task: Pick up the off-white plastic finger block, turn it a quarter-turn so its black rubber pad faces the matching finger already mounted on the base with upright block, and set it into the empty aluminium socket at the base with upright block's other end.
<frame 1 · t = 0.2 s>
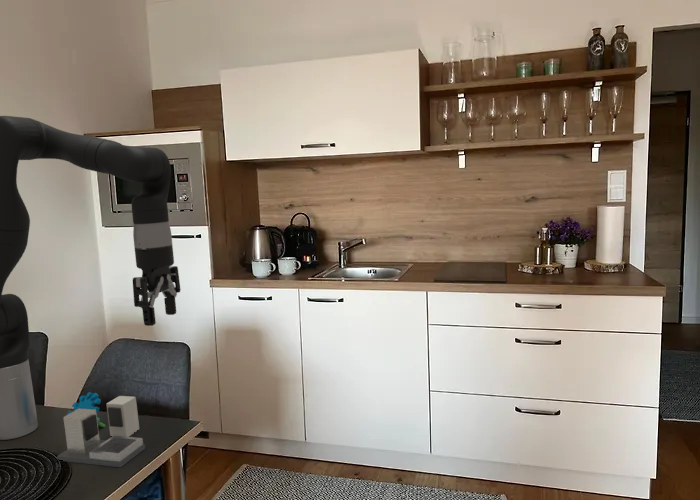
hand: (160, 319, 119), 28 cm above the table, tool pointing down, fingers open, 8 cm apart
base with upright block: (102, 454, 120), on the table
blue spiky virus toy: (86, 428, 135), on the table
finger block: (125, 432, 130), on the table
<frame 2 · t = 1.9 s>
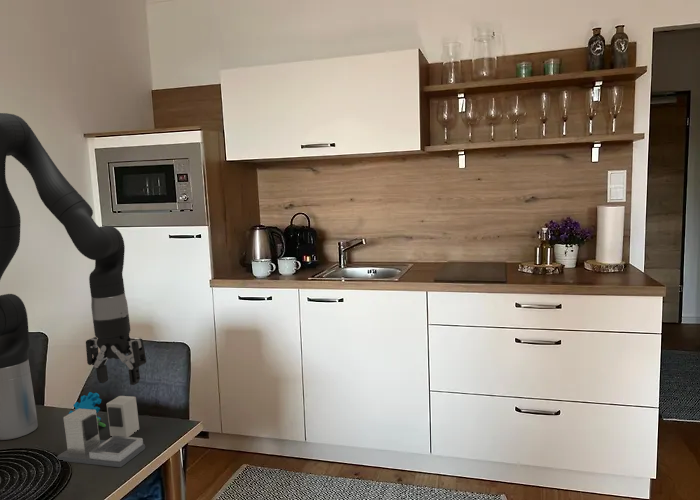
hand: (119, 382, 128), 12 cm above the table, tool pointing down, fingers open, 8 cm apart
nothing on the table moved.
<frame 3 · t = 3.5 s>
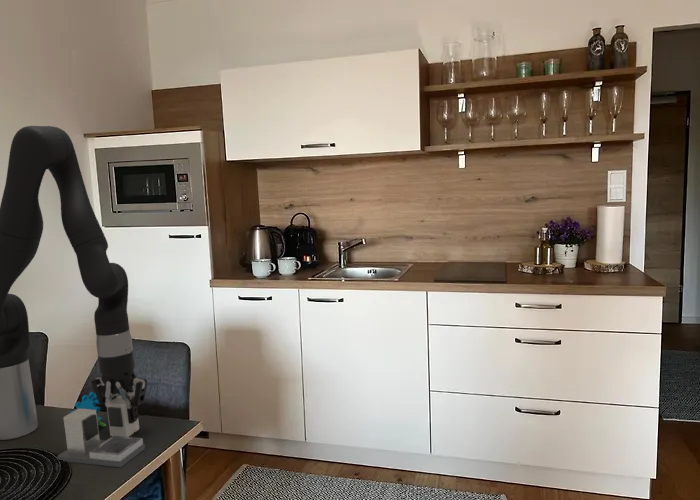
hand: (123, 421, 130), 3 cm above the table, tool pointing down, fingers closed on finger block, 4 cm apart
finger block: (125, 432, 130), on the table, touching gripper
everything else where it was.
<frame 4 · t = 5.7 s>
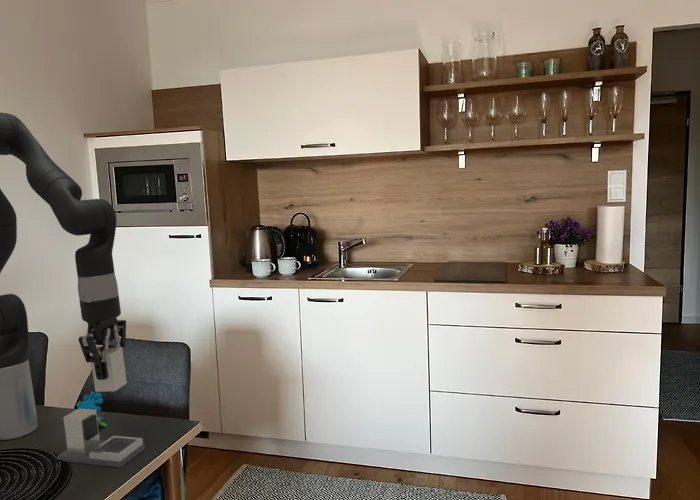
hand: (109, 374, 118), 18 cm above the table, tool pointing down, fingers closed on finger block, 4 cm apart
finger block: (111, 387, 118), point 15 cm above the table, touching gripper
everything else where it was.
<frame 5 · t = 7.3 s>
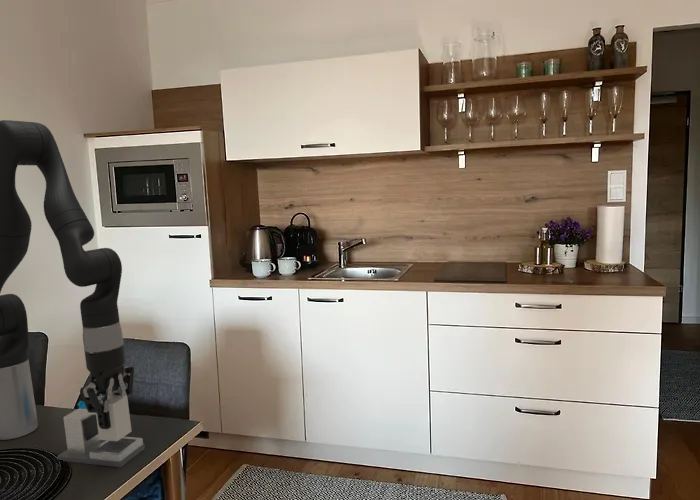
hand: (113, 422, 118), 8 cm above the table, tool pointing down, fingers closed on finger block, 4 cm apart
finger block: (115, 435, 118), point 5 cm above the table, touching gripper
everything else where it was.
when the fingers open (5 cm above the table, at t = 8.3 s): finger block stays where it is, resting on base with upright block.
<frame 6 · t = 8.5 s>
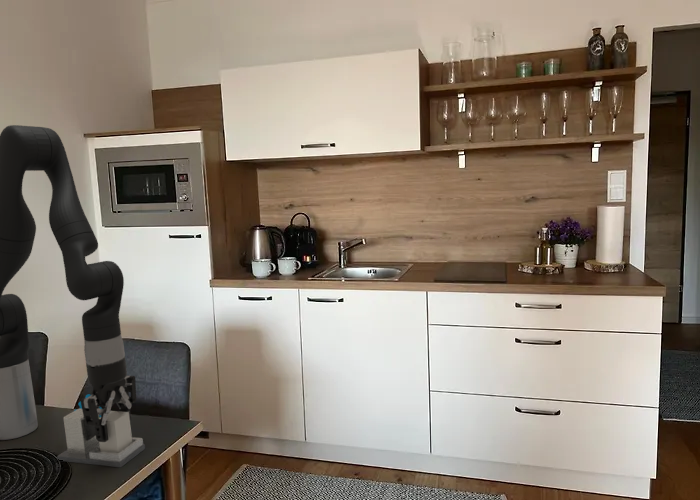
hand: (114, 433, 118), 5 cm above the table, tool pointing down, fingers open, 6 cm apart
finger block: (117, 451, 119), point 1 cm above the table, touching base with upright block
everything else where it was.
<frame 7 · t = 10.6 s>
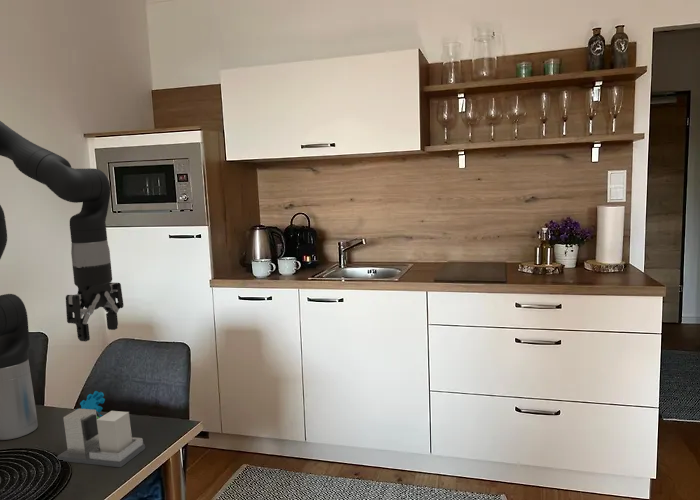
hand: (99, 334, 122), 25 cm above the table, tool pointing down, fingers open, 8 cm apart
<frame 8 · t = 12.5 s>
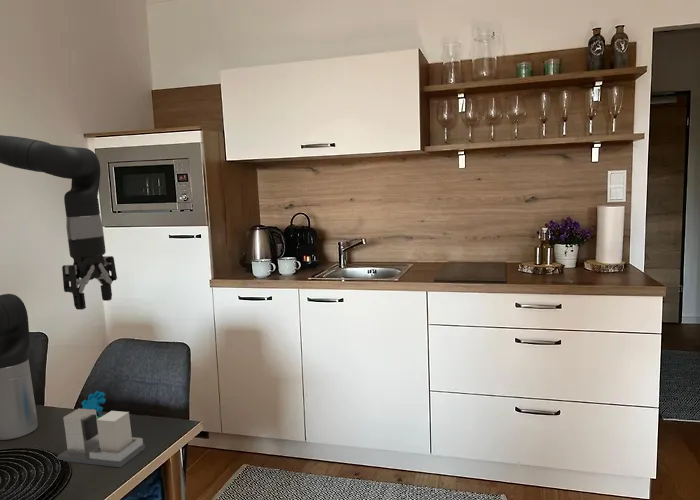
hand: (94, 304, 130), 30 cm above the table, tool pointing down, fingers open, 8 cm apart
at the end: finger block 0.1 cm from the target spot on the base with upright block, point 1.0 cm above the base with upright block's base; finger block tilted 0°; the gripper is holding nothing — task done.
